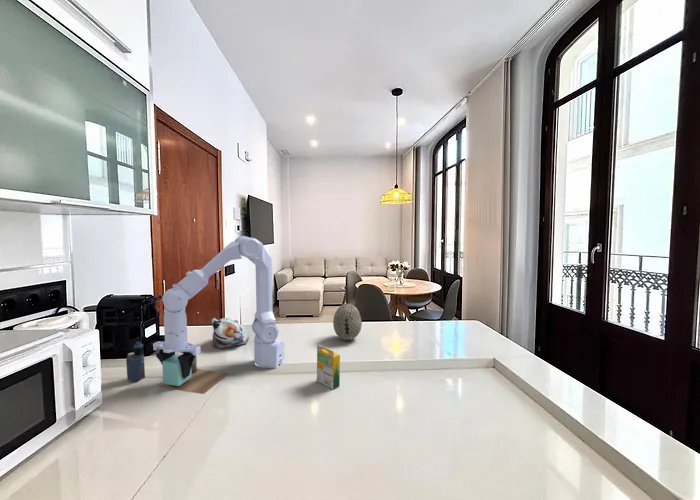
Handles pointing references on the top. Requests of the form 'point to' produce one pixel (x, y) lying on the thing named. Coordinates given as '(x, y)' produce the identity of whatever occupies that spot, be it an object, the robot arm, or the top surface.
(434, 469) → the top surface
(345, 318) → the decorative egg
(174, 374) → the teal foam cube
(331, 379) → the crayon box
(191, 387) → the board
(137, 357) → the vaping device
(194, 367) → the metal post
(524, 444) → the top surface
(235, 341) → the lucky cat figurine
